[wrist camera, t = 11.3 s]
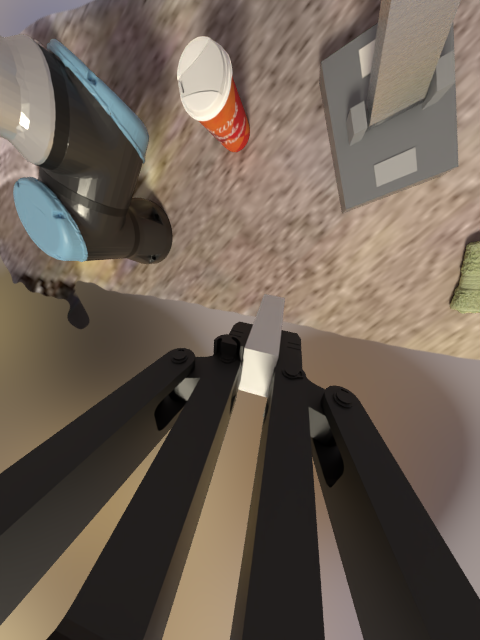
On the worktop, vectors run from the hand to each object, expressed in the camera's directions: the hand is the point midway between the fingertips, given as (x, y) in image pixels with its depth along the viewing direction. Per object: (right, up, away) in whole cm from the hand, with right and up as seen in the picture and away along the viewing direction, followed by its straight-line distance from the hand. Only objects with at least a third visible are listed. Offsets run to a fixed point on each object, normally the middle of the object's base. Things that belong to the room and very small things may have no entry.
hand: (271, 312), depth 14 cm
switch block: (+20, +30, +16) cm, 39 cm away
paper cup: (-3, +35, +22) cm, 42 cm away
